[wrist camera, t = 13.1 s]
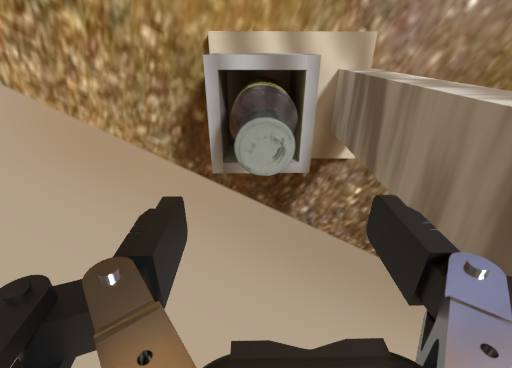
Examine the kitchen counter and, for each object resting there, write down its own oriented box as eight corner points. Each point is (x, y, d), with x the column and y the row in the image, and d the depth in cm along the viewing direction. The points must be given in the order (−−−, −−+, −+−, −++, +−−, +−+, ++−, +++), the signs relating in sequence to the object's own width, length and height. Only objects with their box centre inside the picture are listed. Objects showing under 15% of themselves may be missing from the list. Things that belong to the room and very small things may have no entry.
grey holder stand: (218, 155, 40) (154, 363, 13) (209, 31, 32) (36, -40, 6) (351, 154, 40) (543, 356, 14) (372, 32, 33) (863, -34, 7)
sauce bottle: (294, 107, 35) (337, 165, 18) (256, 133, 37) (260, 213, 19) (266, 62, 33) (283, 79, 15) (226, 93, 34) (199, 142, 17)
